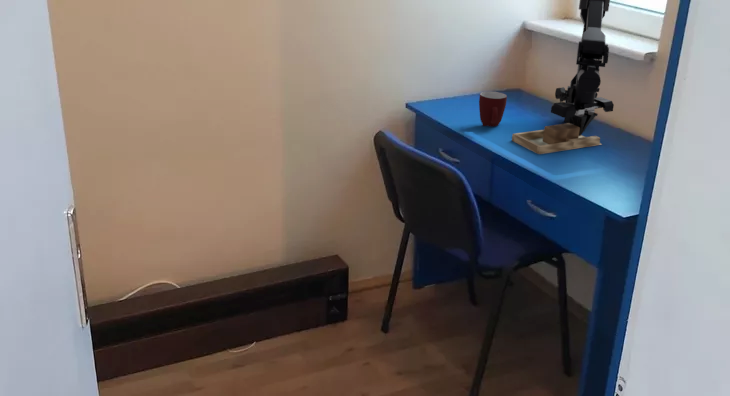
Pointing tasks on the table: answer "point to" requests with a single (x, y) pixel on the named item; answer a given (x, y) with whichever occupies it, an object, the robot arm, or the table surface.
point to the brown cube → (571, 131)
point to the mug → (492, 107)
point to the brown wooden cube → (554, 134)
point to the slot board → (536, 144)
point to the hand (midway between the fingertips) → (578, 135)
